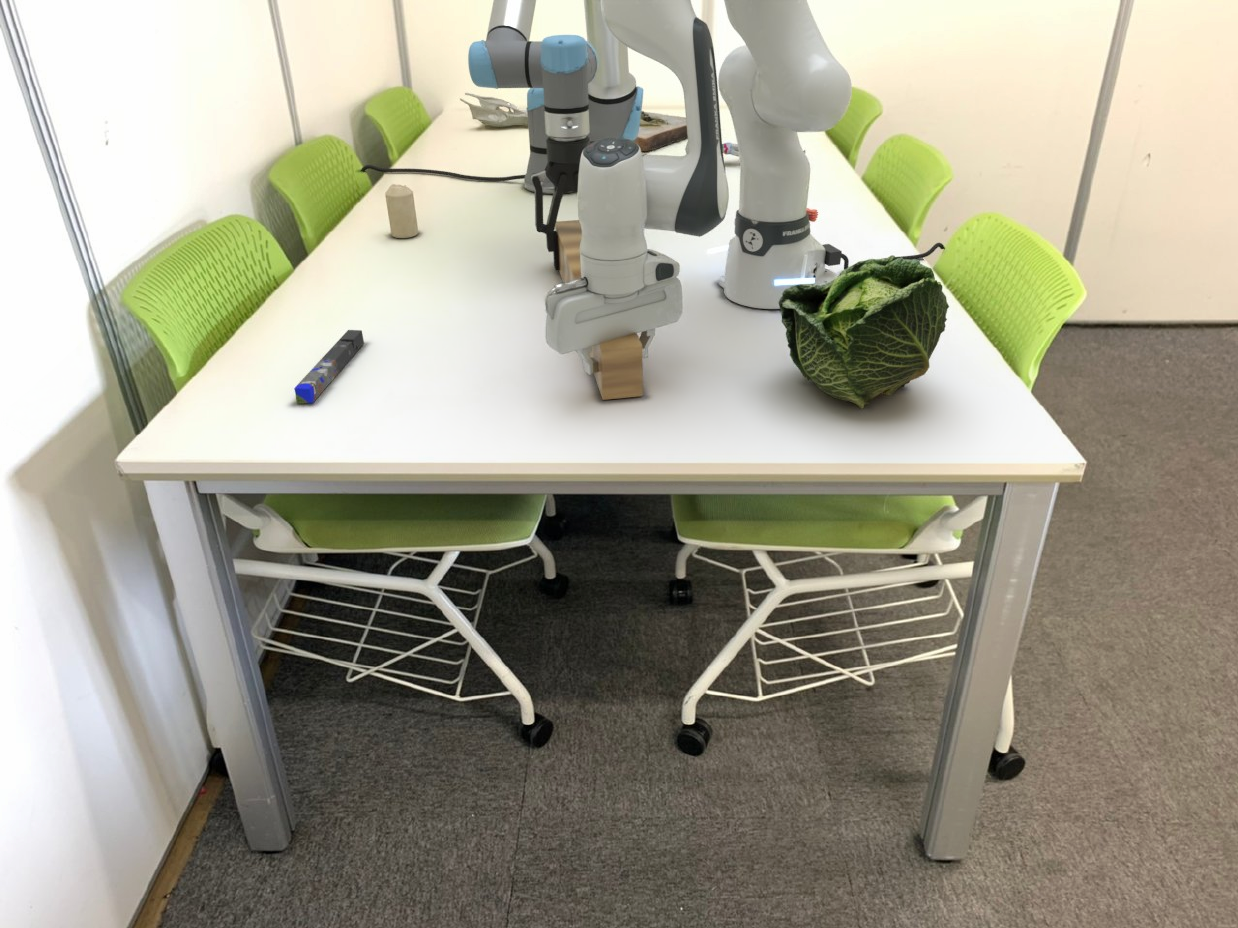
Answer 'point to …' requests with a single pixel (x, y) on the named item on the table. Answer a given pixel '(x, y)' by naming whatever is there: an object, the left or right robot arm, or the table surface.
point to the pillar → (328, 367)
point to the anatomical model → (496, 112)
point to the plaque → (659, 130)
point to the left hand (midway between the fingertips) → (573, 266)
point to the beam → (615, 356)
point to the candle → (401, 211)
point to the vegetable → (865, 327)
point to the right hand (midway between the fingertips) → (616, 364)
